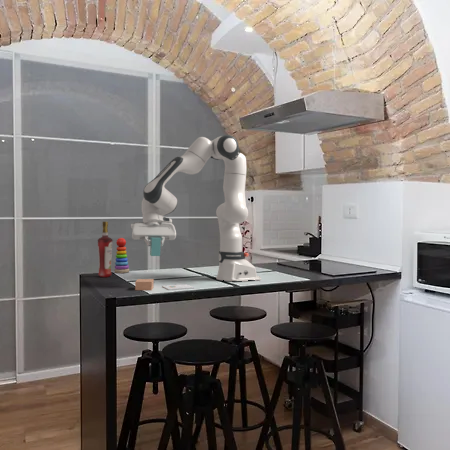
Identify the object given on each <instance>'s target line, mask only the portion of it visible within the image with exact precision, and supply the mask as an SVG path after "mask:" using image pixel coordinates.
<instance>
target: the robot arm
mask: <svg viewBox="0 0 450 450" xmlns="http://www.w3.org/2000/svg"><path fill="white" fill-rule="evenodd" d="M210 159H214V160H217V161H220V160H223V163H224V174H223V184H222V185H223V186H222V191H223V194H224V202H223V203H221V204H219V205H218V206H217V208H216V210H215V214H216V218H217V223H218V230H219V252H218V261H219V263H218V264H219V265H218V270H217V275H216V277H215V278H216V280H218V281H223V280H224V282H232V281H242V282H249V281H248V280H255V281H261V280H262V277H260V276H259V275H258V274H257V269H256V267H255V265H253V264H252V263H251V262H250V261H248V260H247V259H246V258H248V257H249V256H250V254H249V253H248V252H244V251H243V235H242V233H241V229H240V224H243V223H244V222H245V221H246V220H247V219H248V217H249V209H248V207H247V199H246V183H247V182H246V181H247V180H246V179H247V172H248V171H247V158H246V155H244V154H243V153H241V149H240V147H239V142H238V140H237V138H236V137H234V136H232V135H230V134H225V135H220V136H217V137H216V138H213V139H211V140H210V139H209V138H207V137H205V136H199V137H197V138H196V139H195V140H194V141H193V142H192V143H191V144H190V145H189V147H188V148H187V150H185V152H184V153H183V154H182V155H181V156H175V157H174V158H173V159H171V161H170V162H168V164H167V165H166V166H165V167H164V168H163V169H162V170H161V171H160V172H159V173H158V174H157V175H155V177H154V178H153V179H152V180H151V181H149V182H148V183H147V184H146V185H144V187H143V191H142V192H143V193H142V195H143V198H142V201H141V204H140V205H141V214H142V222H141V221H140V222H138V221H137V222H136V221H134V222H132V223H131V224H130V230H131V239H132V240H135V241H136V240H137V241H138V240H139V241H142V240H143V241H144V242H145V243H146V244H147V247H150V246H151V241H150V238H161V247H163V246H164V243H165V241H175V239H176V238H177V231H176V227H175V225H174V224H173V219H172V218H170V217H167V215H170V214H171V213H173V212H174V211H175V210H176V208H177V207H178V202H179V200H178V198H177V196H175V195H174V194H173V193H172V192H171V191H169V190H168V189H167V188H166V187H165V185H166V184H167V182H169V181H170V180H171V178H172V177H173V176H174V175H175V174H177V173H179V172H180V173H183V174H187V175H196V174H199V173H200V172H201V171H202V170H203V168H204V166H205V165H206V164H207V163H208V160H210Z"/></svg>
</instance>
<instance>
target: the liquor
mask: <svg viewBox="0 0 450 450" xmlns="http://www.w3.org/2000/svg"><path fill="white" fill-rule="evenodd" d="M108 227H109V221H102V235H101V237H99V238H98V239H97V254H98V273H97V275H98V276H99V277H100V278H110V276H112V255H113V254H112V253H113V241H114V240H113V238H111V237H109V230H108V229H109V228H108Z"/></svg>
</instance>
